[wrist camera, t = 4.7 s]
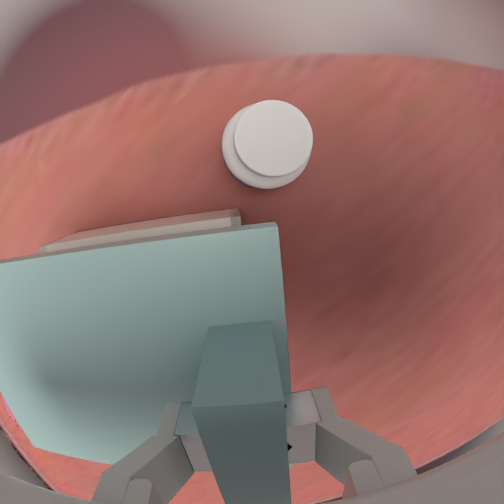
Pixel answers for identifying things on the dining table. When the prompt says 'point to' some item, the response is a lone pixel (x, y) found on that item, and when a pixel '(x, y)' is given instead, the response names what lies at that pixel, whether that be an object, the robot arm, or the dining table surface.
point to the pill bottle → (267, 144)
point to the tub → (147, 229)
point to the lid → (154, 350)
